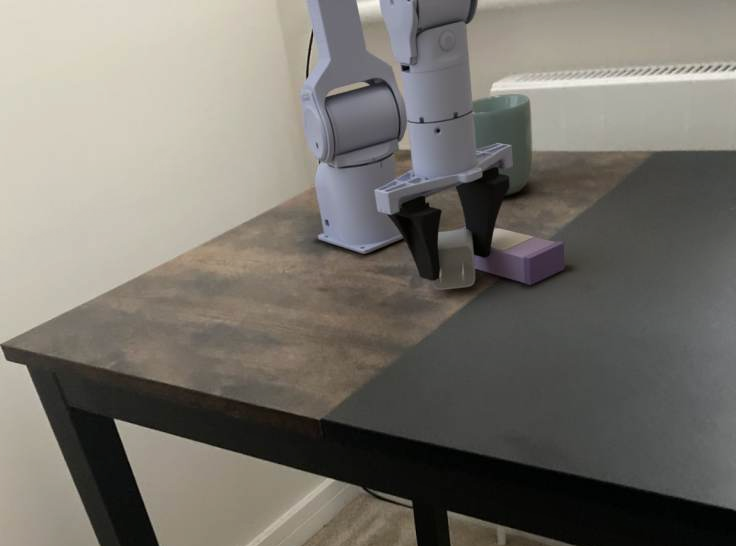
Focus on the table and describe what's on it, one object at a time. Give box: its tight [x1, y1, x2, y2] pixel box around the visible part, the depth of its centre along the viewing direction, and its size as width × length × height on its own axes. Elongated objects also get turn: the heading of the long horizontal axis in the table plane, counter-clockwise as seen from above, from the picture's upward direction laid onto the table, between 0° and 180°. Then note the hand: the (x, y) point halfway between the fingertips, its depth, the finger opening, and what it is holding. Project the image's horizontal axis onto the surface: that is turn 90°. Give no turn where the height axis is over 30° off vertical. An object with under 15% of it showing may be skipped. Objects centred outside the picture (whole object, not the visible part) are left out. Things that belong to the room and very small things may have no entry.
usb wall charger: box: [431, 229, 476, 291], centre depth 84 cm, size 4×7×4 cm, turn 174°
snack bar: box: [457, 225, 566, 286], centre depth 87 cm, size 12×4×3 cm, turn 36°
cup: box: [472, 93, 533, 197], centre depth 104 cm, size 8×8×10 cm
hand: (454, 266), depth 85 cm, fingers closed on usb wall charger, 6 cm apart
